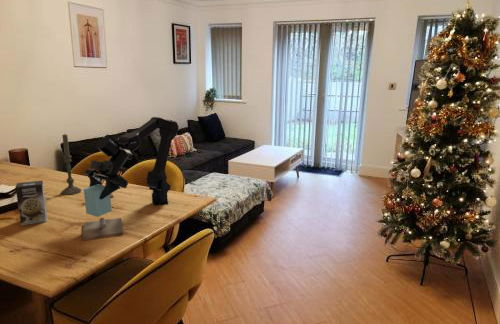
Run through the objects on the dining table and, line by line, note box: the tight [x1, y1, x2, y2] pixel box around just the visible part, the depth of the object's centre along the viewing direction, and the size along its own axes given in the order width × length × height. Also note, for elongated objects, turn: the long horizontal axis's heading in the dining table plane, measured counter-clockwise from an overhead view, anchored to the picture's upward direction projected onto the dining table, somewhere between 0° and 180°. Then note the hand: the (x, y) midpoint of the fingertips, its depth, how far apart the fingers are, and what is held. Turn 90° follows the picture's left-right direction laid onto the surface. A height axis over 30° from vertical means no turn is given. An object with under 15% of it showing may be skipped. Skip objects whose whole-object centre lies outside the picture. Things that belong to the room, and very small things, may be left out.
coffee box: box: [15, 180, 48, 226], centre depth 141 cm, size 9×6×16 cm
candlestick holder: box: [61, 134, 82, 196], centre depth 174 cm, size 9×9×30 cm
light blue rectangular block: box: [83, 184, 112, 218], centre depth 134 cm, size 6×6×10 cm
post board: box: [81, 217, 124, 241], centre depth 136 cm, size 14×14×5 cm
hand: (94, 197), depth 132 cm, fingers closed on light blue rectangular block, 6 cm apart
